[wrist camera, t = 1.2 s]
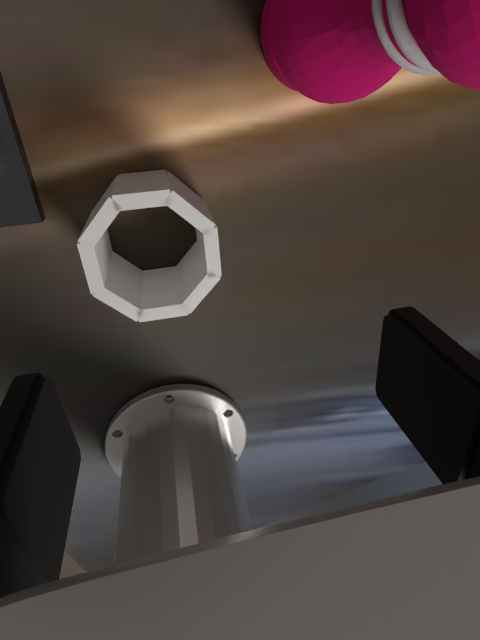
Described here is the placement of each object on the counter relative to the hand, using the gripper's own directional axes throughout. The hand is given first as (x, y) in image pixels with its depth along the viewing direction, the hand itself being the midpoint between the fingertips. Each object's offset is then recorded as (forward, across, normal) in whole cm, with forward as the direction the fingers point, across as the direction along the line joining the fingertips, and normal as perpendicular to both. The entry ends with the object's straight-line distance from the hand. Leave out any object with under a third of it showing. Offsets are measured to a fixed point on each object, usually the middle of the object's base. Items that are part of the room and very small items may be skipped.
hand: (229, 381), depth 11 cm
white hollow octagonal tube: (+18, +2, +1) cm, 19 cm away
